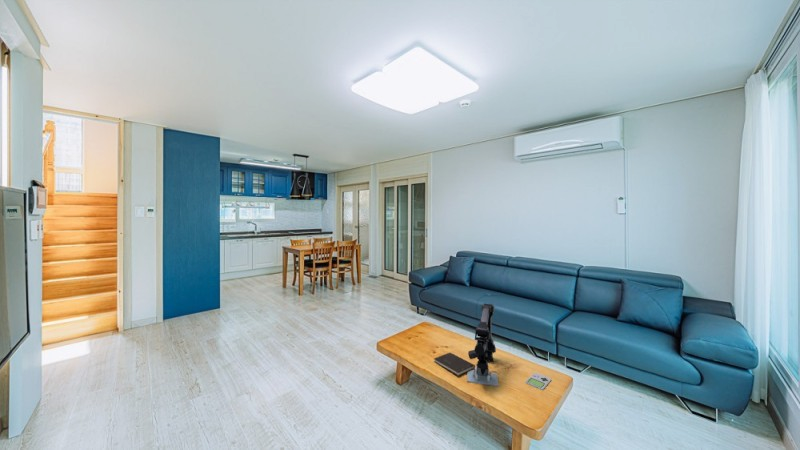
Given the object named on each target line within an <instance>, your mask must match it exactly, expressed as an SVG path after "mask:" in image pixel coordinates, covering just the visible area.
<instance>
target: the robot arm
mask: <svg viewBox="0 0 800 450" xmlns="http://www.w3.org/2000/svg"><path fill="white" fill-rule="evenodd" d="M480 307H481V308H480V311H481V316H480V318H481V319H480V322H479V323H478V324H477V327H476V329H475V334H474V335H475V336H474V340H475V341H476V344H475V347H474V349H472V350H468V352H467V354H468V358H469V360H474V359H477V360H478V361H477V363H476V367H477V368H480V369H481V374H482V375H483V374H484V372H485V370H486V369H489V362H491V363H492V362H493V363H494V355H493V354H494V353H496V351H497V349H496V345H495V344H496V343H495V342H494V339H493V338H492V317H493V315H494V313H495V310H496V307H495V306H494V304H492V303H483V304H481V306H480ZM494 343H495V344H494Z"/></svg>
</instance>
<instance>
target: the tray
mask: <svg viewBox="0 0 800 450" xmlns="http://www.w3.org/2000/svg"><path fill="white" fill-rule="evenodd" d="M466 373H467V376H466V377H467V379H466V383H472V384H480V385H486V386H493V387H499V380H498V374H497V373H493V372H492V371H490V368H488V376H487V377H486V376H479V375H478V374H477V366H475V369H472V370H470V371H468V372H466Z"/></svg>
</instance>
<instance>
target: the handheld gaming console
mask: <svg viewBox="0 0 800 450" xmlns="http://www.w3.org/2000/svg"><path fill="white" fill-rule="evenodd" d="M551 381H552V378H551V377H548V376H545V375H543V374H541V373H538V372H533V373H532V374H531V375H530V376H529V377H528V378H527V379H526V380H525V384H526V385H529V386H530V387H532V388H533V387H534V388H536V389H538V390H540V391H544V389H546V387H547V386H548V385H549V383H550V382H551Z"/></svg>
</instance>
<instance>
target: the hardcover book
mask: <svg viewBox="0 0 800 450" xmlns="http://www.w3.org/2000/svg"><path fill="white" fill-rule="evenodd" d="M433 363H435V364H437V365H438V366H440V367H442V368H443V369H445V370H447V371H449V372H450V373H452V374H454V375H456V376H457V377H459V376H461V375H464V374H466V373H468V371H470V370H471V371H473V370H475V367H476V365H475V364H474V363H472V362H470V361H468V360H465V359H464V358H462V357H460V356H458V355H456V354H454V353H452V352H448V353H444V354H442V355H440V356H437V357H434V358H433Z"/></svg>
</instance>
